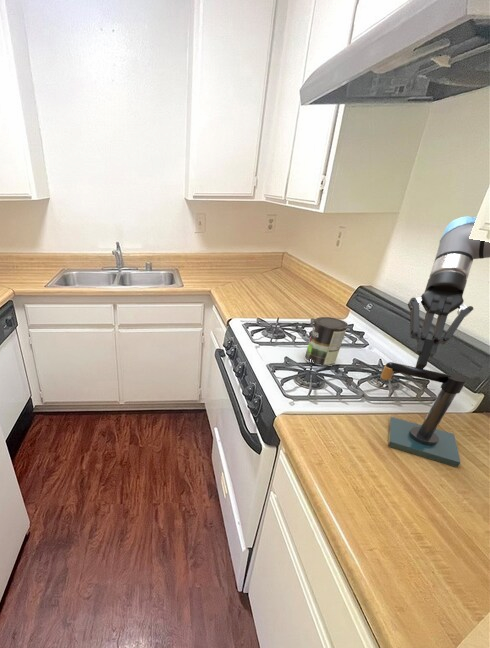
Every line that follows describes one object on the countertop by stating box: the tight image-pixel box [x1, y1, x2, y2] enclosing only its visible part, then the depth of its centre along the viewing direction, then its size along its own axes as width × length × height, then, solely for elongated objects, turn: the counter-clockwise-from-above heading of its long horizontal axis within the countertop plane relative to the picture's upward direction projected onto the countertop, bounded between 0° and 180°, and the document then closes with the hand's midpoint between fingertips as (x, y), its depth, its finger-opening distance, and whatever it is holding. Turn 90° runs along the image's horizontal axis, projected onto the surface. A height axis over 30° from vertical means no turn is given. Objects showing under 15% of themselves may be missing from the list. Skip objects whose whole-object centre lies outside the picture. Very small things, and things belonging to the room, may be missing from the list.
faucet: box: [387, 388, 462, 468], centre depth 81 cm, size 14×12×15 cm
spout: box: [379, 361, 468, 395], centre depth 78 cm, size 15×4×4 cm, turn 60°
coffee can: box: [304, 316, 349, 366], centre depth 118 cm, size 10×10×14 cm
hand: (420, 366), depth 81 cm, fingers closed
